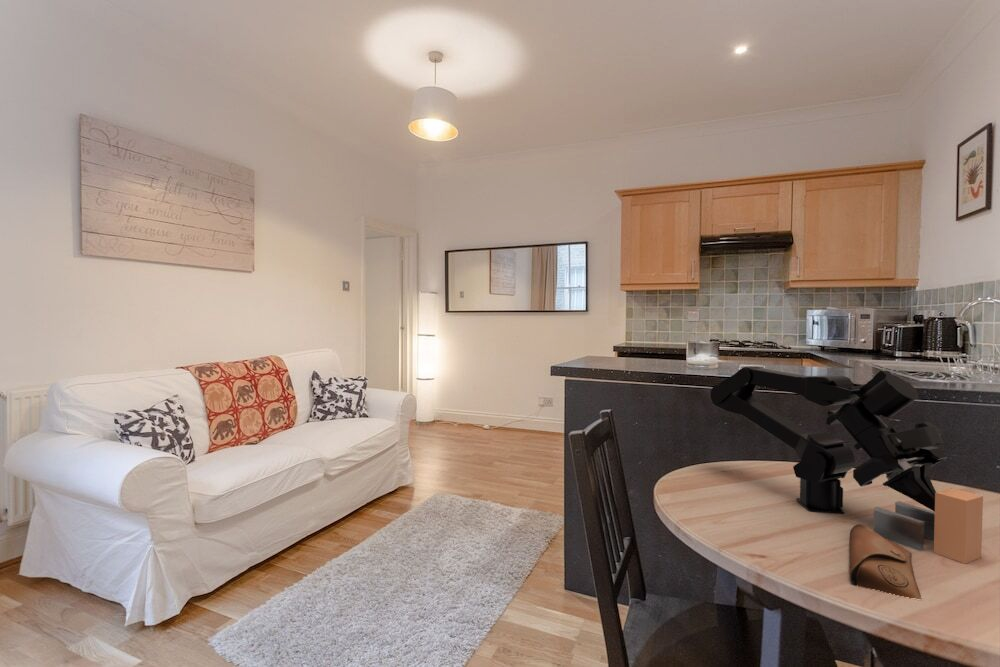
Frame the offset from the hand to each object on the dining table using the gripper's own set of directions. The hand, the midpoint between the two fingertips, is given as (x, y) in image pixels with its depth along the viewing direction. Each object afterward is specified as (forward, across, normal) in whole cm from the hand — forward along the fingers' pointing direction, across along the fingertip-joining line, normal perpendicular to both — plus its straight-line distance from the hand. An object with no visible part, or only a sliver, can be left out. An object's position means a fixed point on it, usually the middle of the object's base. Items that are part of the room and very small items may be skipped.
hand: (940, 511), depth 80 cm
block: (+6, 0, +3) cm, 7 cm away
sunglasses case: (+5, -15, +6) cm, 17 cm away
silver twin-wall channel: (+1, 0, +8) cm, 8 cm away
